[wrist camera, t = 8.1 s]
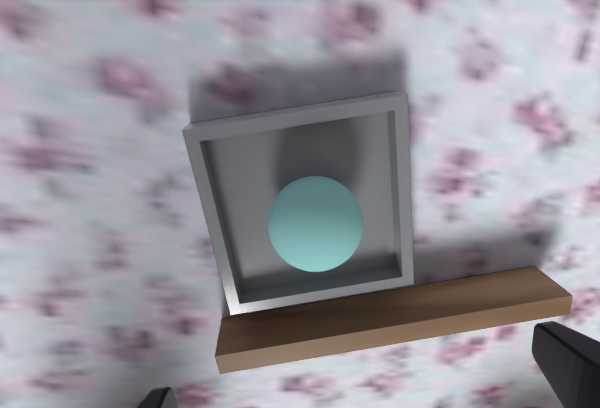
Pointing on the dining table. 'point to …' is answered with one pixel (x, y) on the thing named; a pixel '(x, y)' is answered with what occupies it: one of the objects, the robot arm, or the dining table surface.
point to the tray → (292, 166)
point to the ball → (315, 223)
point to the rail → (388, 318)
